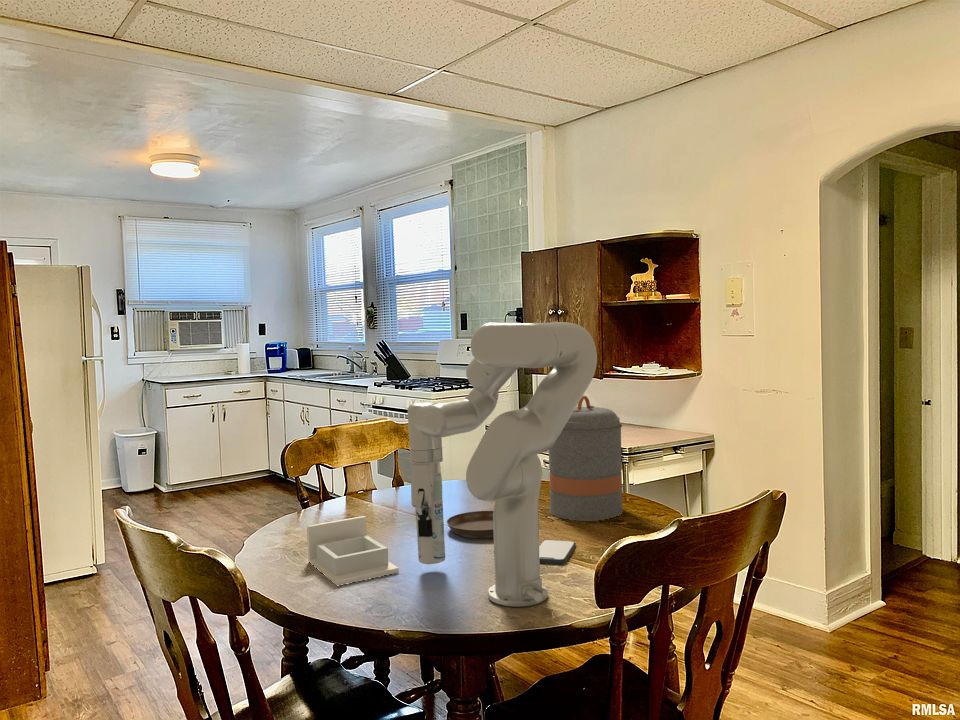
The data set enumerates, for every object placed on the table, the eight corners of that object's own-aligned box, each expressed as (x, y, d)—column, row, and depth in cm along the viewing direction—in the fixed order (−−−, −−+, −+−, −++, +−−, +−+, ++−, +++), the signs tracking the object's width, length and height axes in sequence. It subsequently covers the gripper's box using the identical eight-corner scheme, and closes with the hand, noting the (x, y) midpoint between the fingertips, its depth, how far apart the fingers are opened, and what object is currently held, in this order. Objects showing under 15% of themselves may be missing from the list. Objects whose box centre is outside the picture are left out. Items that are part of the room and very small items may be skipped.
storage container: (607, 525, 204) (604, 401, 202) (536, 515, 216) (533, 398, 214) (634, 506, 223) (632, 393, 221) (567, 499, 235) (565, 391, 233)
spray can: (439, 565, 166) (435, 477, 165) (413, 563, 168) (408, 477, 167) (450, 556, 172) (445, 472, 171) (424, 555, 174) (420, 472, 173)
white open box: (398, 572, 170) (397, 534, 169) (337, 586, 162) (335, 546, 162) (365, 551, 187) (364, 515, 187) (308, 562, 179) (306, 525, 179)
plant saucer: (437, 526, 209) (437, 514, 209) (503, 517, 217) (503, 506, 216) (461, 546, 190) (460, 533, 190) (533, 535, 197) (532, 523, 197)
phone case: (543, 545, 190) (528, 564, 175) (543, 539, 190) (528, 557, 175) (577, 547, 187) (565, 566, 172) (576, 541, 187) (564, 560, 172)
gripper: (422, 449, 178) (426, 522, 179) (398, 462, 162) (402, 542, 162) (452, 449, 177) (455, 522, 177) (430, 462, 160) (434, 543, 160)
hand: (430, 531), depth 170 cm, fingers closed on spray can, 6 cm apart
